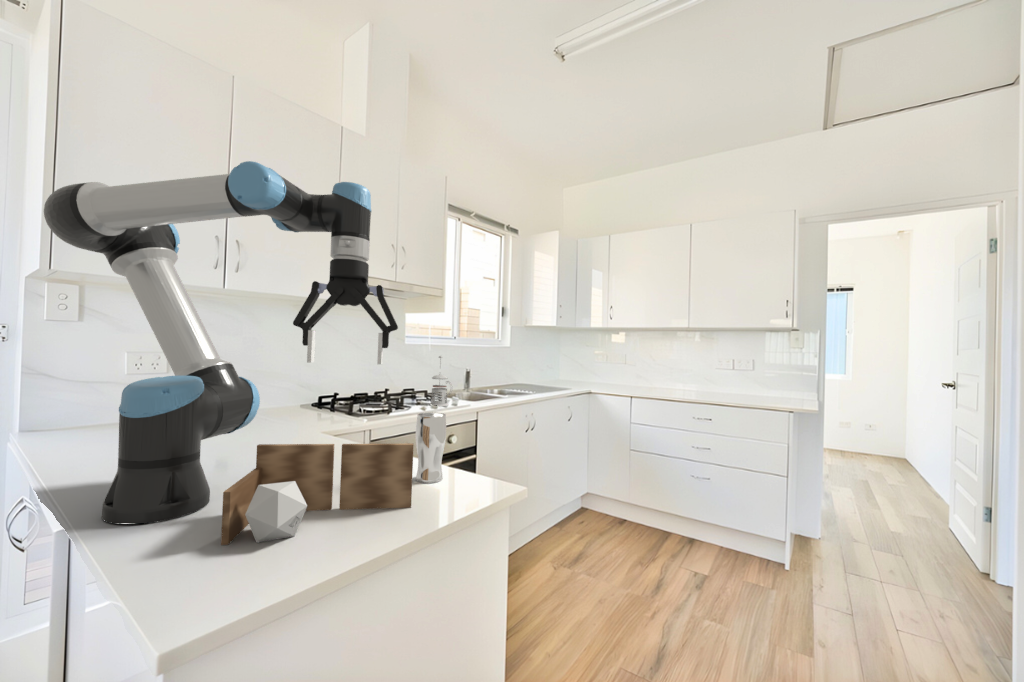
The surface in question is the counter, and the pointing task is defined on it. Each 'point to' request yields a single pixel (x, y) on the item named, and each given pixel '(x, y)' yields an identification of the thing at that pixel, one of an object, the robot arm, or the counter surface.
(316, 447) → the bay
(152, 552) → the counter surface
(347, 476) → the panel
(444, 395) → the french press
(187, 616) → the counter surface
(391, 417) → the counter surface
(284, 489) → the die
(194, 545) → the counter surface
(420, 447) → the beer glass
